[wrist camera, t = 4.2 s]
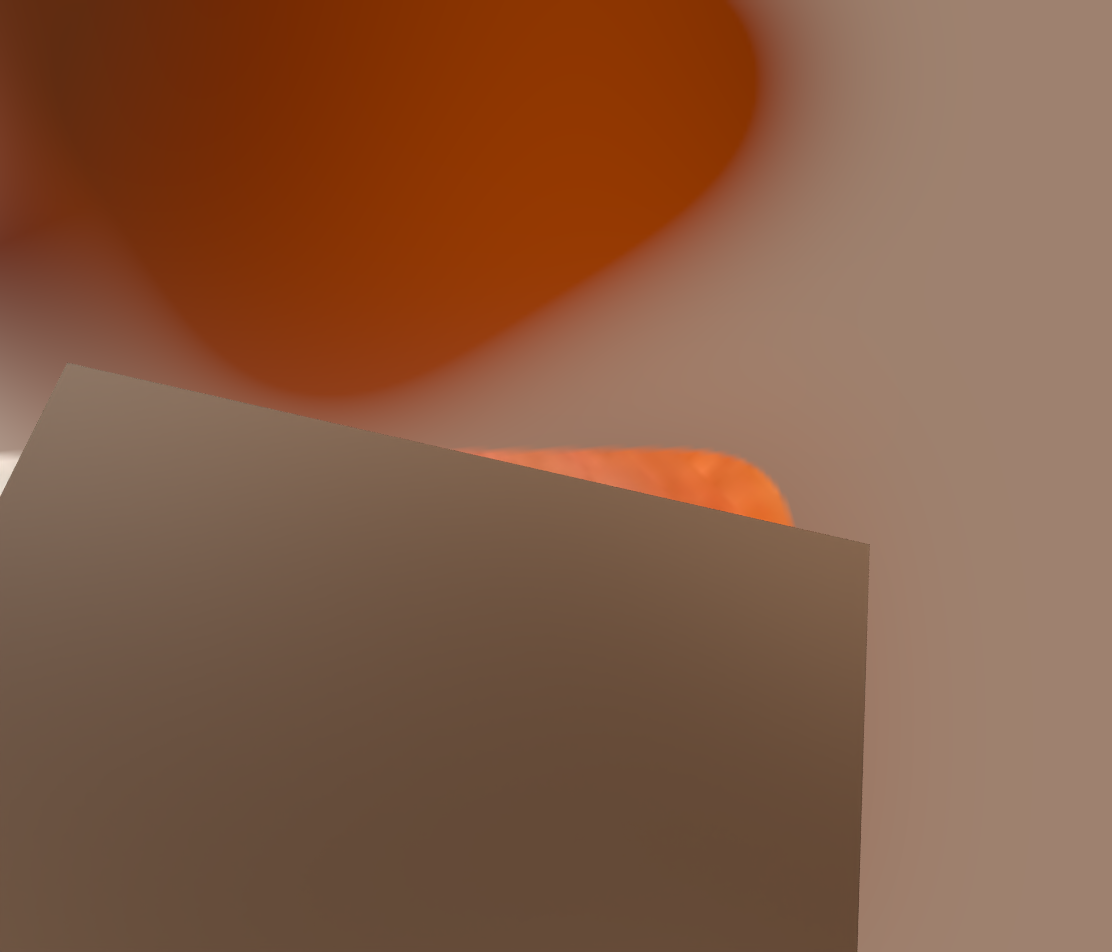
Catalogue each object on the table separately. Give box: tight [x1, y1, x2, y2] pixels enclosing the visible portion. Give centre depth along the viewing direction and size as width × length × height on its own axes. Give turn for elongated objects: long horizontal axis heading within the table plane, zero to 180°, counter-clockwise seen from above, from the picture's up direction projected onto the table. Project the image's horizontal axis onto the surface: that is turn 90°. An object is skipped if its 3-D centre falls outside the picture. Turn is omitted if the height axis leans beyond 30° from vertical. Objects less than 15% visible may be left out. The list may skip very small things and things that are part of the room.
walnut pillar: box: [0, 363, 870, 952], centre depth 9 cm, size 5×5×12 cm
